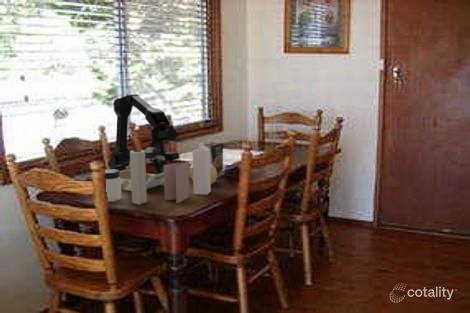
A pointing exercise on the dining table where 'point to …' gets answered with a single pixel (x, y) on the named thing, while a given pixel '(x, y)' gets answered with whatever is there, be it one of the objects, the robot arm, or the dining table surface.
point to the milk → (201, 170)
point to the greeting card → (176, 181)
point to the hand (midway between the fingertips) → (159, 174)
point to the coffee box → (216, 156)
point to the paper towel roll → (138, 176)
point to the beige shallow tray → (129, 179)
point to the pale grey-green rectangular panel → (155, 180)
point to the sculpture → (212, 173)
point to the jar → (113, 184)
